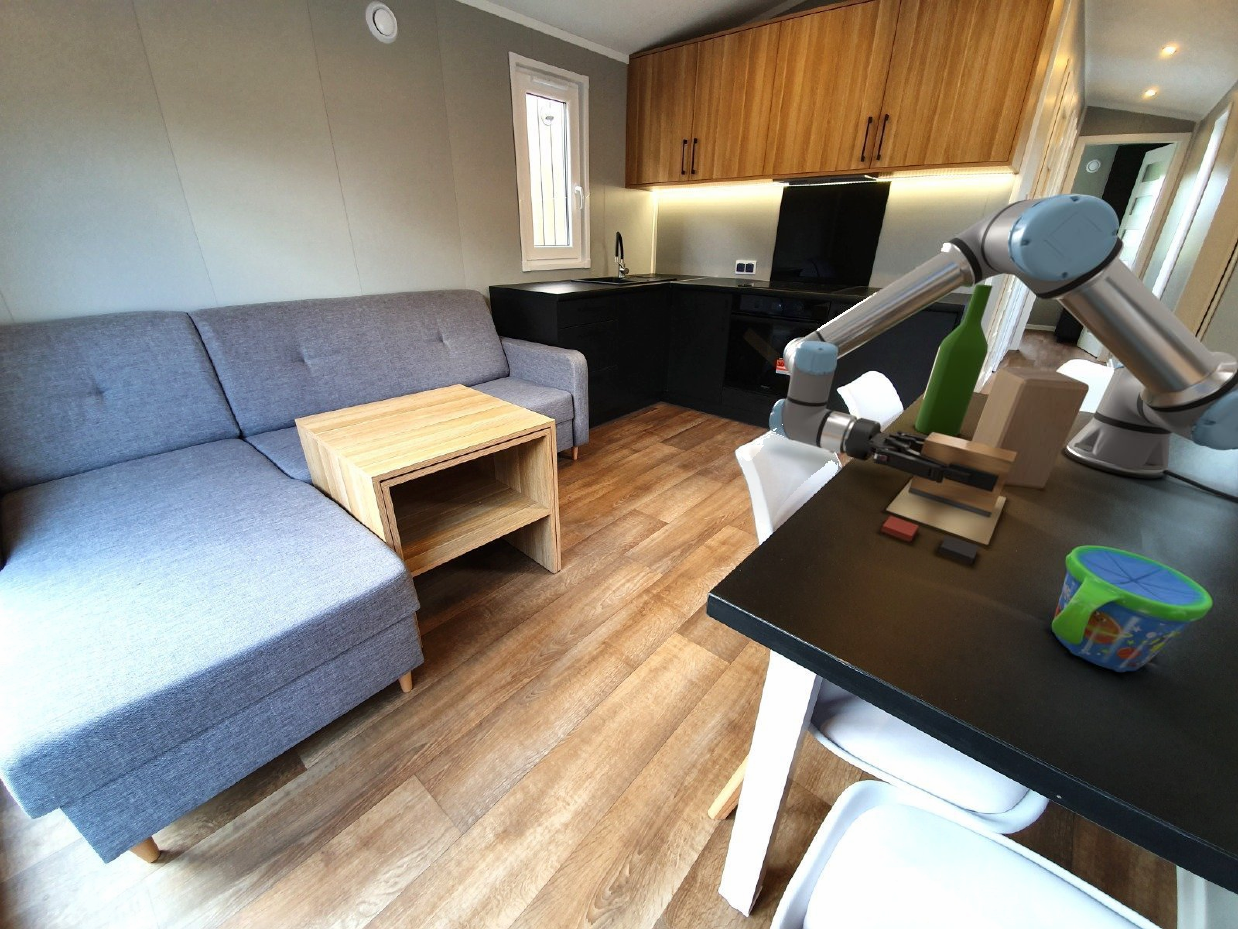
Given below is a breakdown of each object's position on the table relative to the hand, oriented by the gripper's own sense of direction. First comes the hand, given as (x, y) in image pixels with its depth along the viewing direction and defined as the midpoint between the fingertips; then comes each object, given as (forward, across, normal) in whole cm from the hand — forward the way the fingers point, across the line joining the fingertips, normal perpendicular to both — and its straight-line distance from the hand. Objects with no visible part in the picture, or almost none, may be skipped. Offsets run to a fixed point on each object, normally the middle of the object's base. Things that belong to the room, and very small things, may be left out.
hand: (998, 476), depth 78 cm
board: (-5, +2, -7) cm, 9 cm away
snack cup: (+14, +27, -7) cm, 31 cm away
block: (0, -19, -7) cm, 20 cm away
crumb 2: (-1, +18, -7) cm, 19 cm away
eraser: (-5, 0, -6) cm, 8 cm away
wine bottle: (-15, -38, -7) cm, 41 cm away
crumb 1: (-8, +18, -7) cm, 21 cm away
